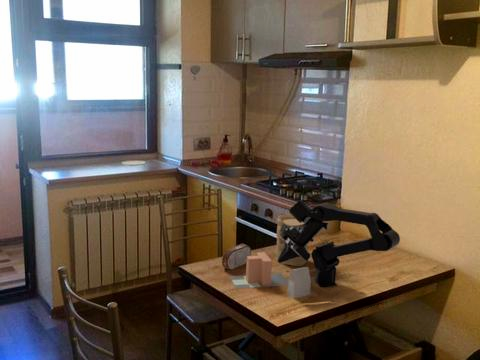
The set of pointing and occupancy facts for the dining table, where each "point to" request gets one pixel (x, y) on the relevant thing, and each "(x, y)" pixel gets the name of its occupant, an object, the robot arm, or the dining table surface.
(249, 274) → the t block
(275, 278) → the board
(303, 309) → the dining table surface
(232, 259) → the tin
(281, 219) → the container
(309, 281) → the grey upright block
